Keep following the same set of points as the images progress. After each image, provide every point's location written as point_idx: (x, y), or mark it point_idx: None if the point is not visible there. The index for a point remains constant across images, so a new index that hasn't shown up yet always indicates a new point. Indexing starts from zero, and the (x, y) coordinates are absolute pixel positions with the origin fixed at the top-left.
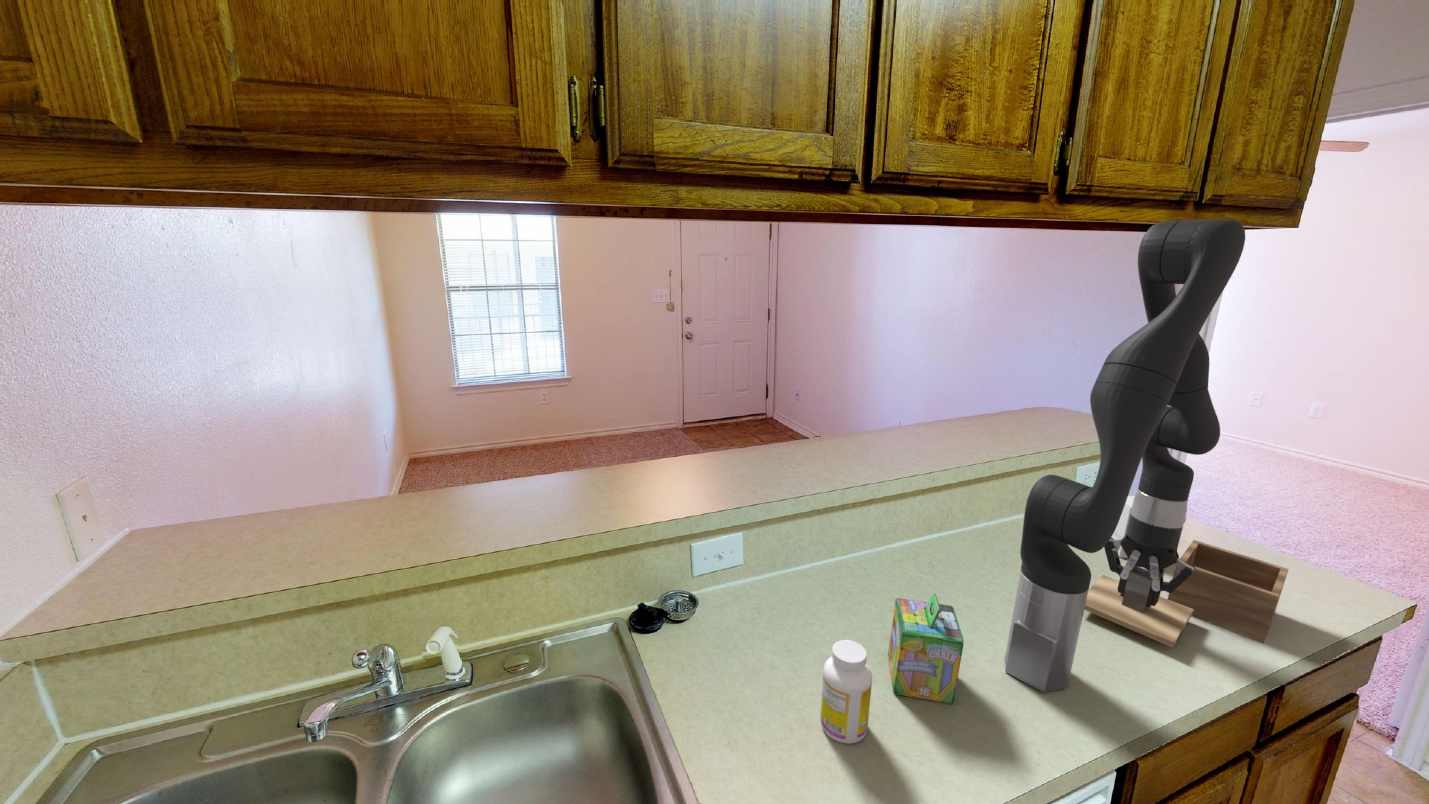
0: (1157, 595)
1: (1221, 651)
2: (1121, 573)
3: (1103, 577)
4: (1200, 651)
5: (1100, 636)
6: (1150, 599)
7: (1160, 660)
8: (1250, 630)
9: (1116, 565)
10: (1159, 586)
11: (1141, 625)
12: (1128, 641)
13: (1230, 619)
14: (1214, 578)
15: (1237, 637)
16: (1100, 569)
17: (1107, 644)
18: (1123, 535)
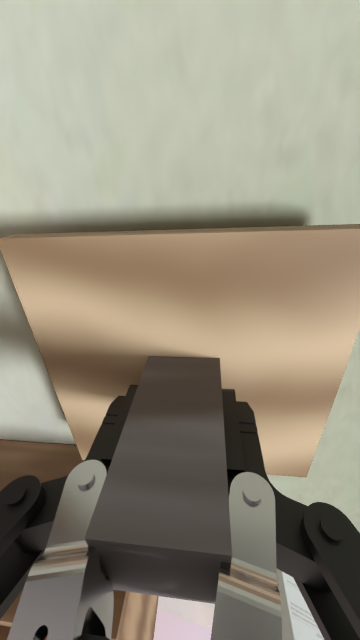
0: (96, 443)
1: (6, 362)
2: (272, 511)
3: (303, 467)
4: (22, 326)
5: (233, 125)
6: (122, 412)
7: (36, 166)
8: (7, 457)
9: (331, 579)
10: (62, 499)
11: (117, 264)
12: (148, 198)
13: (34, 468)
14: (17, 602)
15: (27, 430)
16: (303, 496)
17: (194, 77)
18: (293, 626)
